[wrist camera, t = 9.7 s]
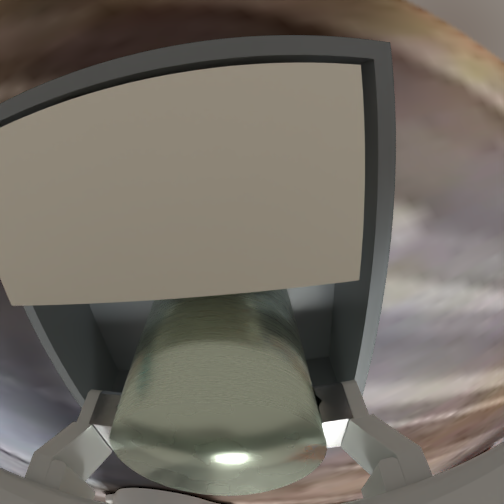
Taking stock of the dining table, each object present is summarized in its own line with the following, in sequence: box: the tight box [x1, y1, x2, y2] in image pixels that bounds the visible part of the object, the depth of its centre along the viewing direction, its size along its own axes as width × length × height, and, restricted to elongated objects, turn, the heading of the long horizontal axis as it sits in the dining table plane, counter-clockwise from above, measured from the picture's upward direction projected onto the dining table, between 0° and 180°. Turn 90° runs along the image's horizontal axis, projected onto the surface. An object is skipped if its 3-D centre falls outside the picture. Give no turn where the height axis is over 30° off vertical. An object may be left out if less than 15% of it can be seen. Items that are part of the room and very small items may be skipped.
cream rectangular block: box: [0, 63, 365, 306], centre depth 9 cm, size 5×10×6 cm, turn 95°
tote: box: [0, 35, 396, 409], centre depth 12 cm, size 16×14×5 cm
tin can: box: [110, 289, 327, 496], centre depth 11 cm, size 6×6×8 cm
